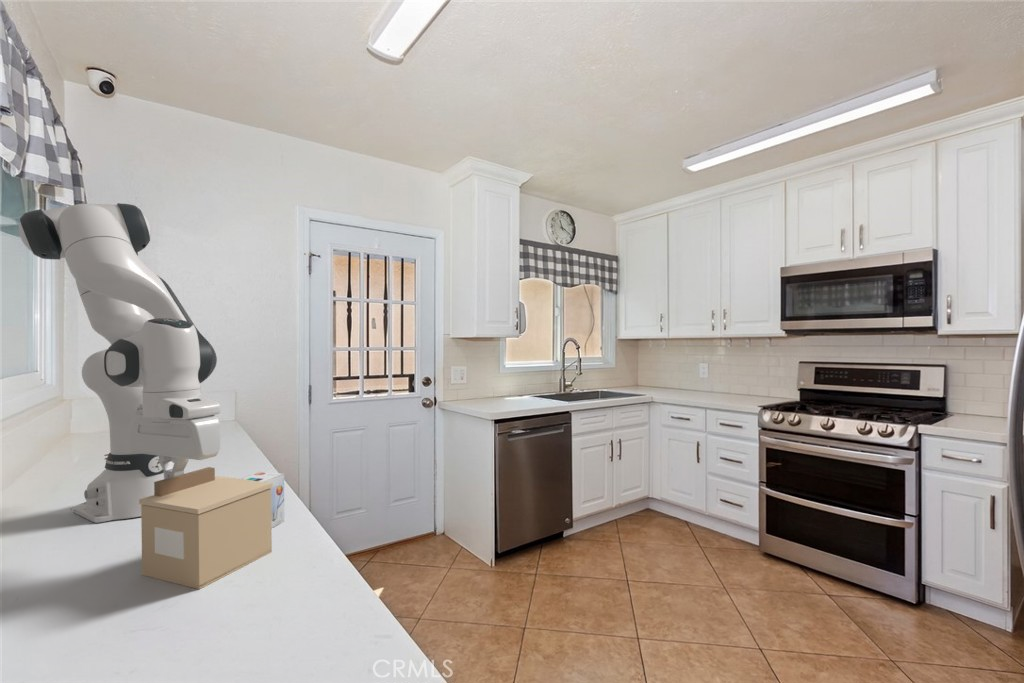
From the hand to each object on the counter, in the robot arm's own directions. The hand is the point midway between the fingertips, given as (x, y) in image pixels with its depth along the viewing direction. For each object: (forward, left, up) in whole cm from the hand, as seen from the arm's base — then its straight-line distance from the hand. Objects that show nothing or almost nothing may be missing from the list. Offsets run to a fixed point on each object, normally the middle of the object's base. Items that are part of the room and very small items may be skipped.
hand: (174, 479), depth 87 cm
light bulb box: (+4, +14, -15) cm, 21 cm away
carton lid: (+9, 0, -2) cm, 9 cm away
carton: (+9, 0, -14) cm, 17 cm away
